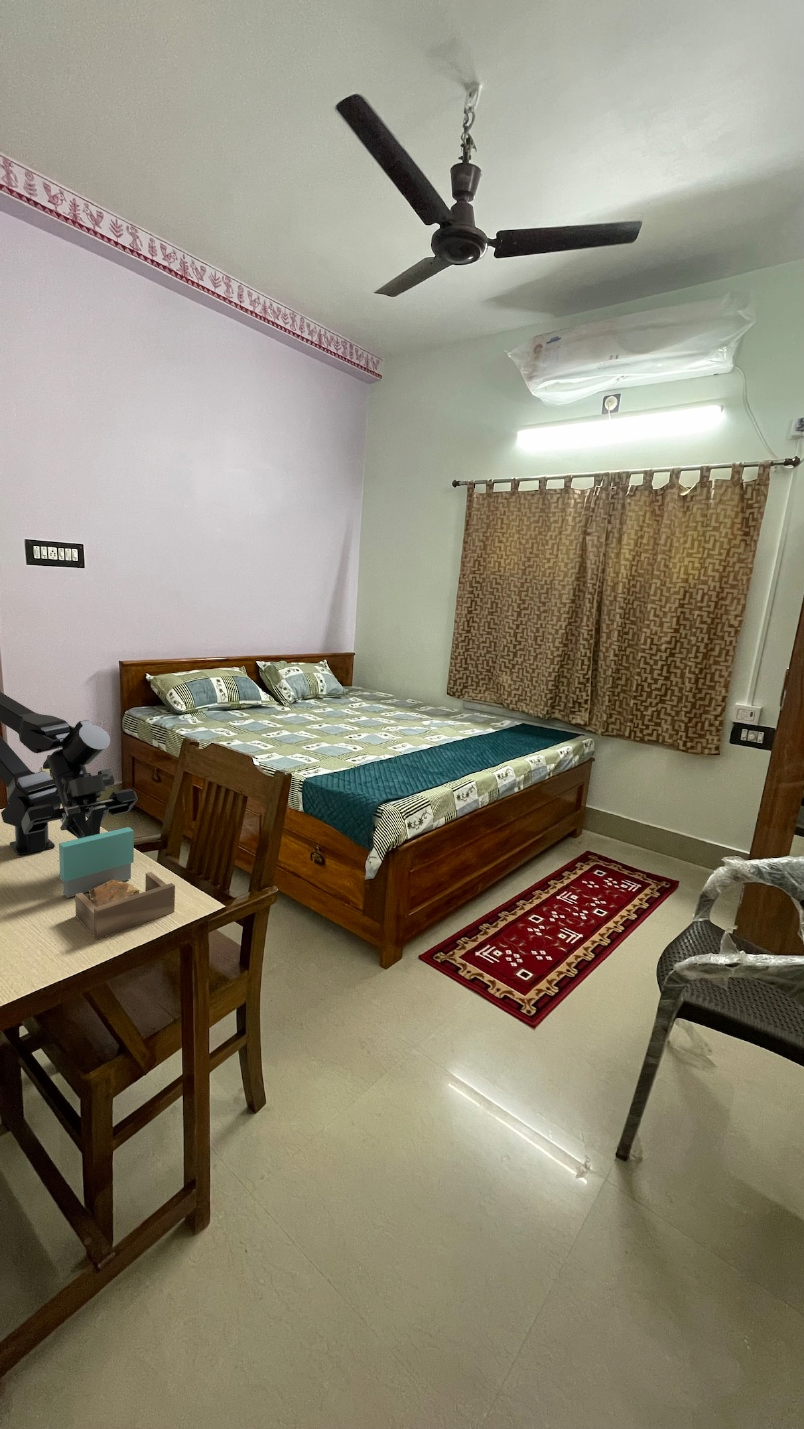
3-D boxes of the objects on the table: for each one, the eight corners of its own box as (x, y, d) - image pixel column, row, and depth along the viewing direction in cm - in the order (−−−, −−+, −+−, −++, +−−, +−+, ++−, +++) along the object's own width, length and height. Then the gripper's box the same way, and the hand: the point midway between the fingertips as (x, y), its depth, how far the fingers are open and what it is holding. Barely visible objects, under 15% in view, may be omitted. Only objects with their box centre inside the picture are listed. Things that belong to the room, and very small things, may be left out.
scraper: (60, 894, 101) (59, 843, 99) (128, 873, 110) (128, 827, 108) (64, 898, 100) (63, 847, 98) (133, 877, 109) (133, 830, 107)
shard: (92, 925, 94) (92, 915, 93) (57, 913, 96) (56, 904, 96) (141, 895, 104) (141, 886, 104) (108, 885, 106) (108, 876, 106)
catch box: (75, 916, 95) (75, 888, 94) (150, 891, 105) (151, 866, 104) (97, 939, 90) (97, 911, 89) (174, 911, 100) (175, 885, 99)
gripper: (24, 764, 97) (50, 846, 93) (133, 749, 111) (160, 820, 107) (11, 794, 104) (34, 872, 99) (116, 776, 118) (140, 844, 113)
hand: (96, 850), depth 104 cm, fingers closed, pressing on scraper
